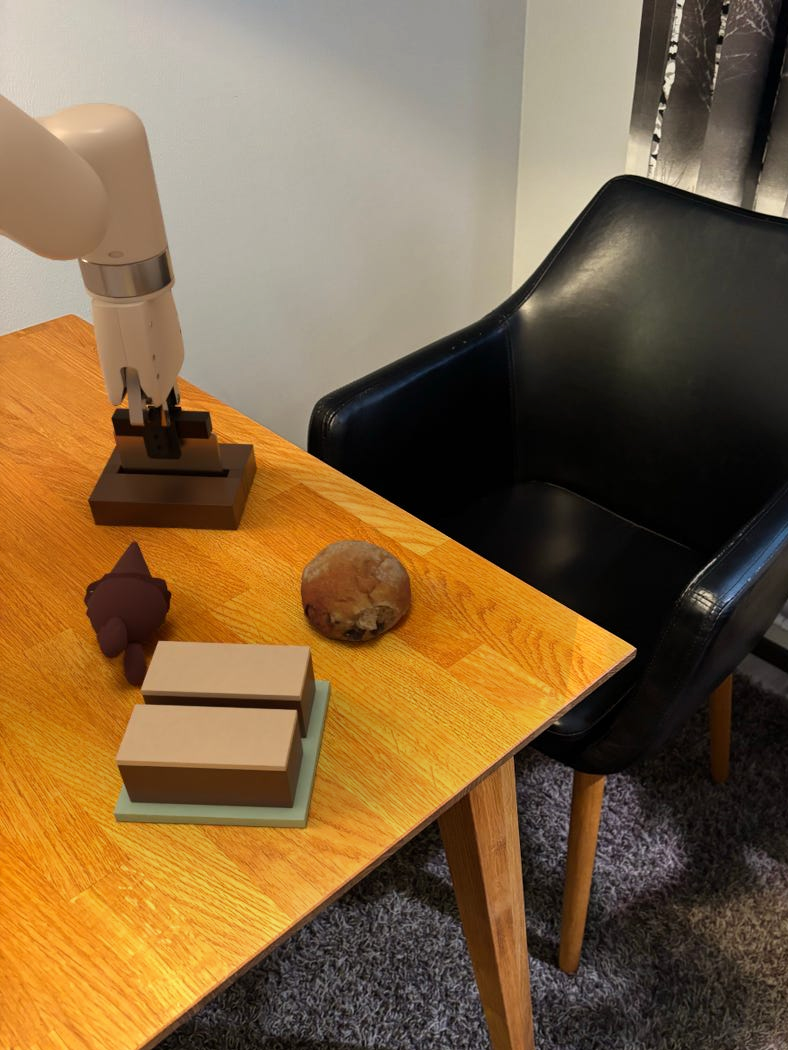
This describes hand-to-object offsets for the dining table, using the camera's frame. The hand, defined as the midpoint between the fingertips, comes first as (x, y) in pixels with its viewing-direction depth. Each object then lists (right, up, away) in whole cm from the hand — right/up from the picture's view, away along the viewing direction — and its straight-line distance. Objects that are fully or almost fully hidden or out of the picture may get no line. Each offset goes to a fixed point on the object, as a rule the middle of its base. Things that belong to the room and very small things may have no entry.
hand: (168, 448), depth 98 cm
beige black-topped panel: (0, -4, +4) cm, 6 cm away
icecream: (0, -18, -10) cm, 21 cm away
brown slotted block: (0, -4, +4) cm, 6 cm away
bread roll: (+19, -16, -7) cm, 26 cm away
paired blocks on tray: (+11, -28, -20) cm, 36 cm away
